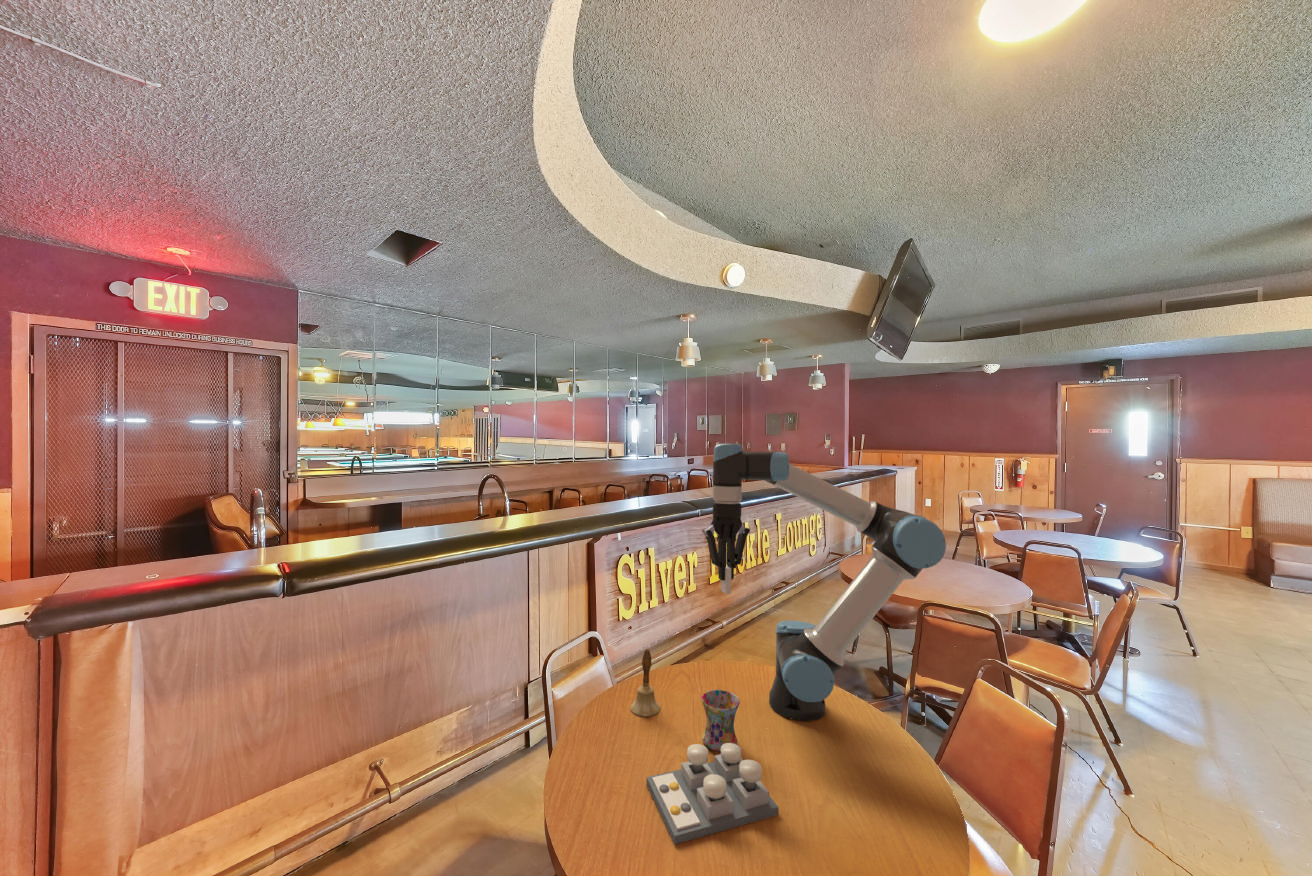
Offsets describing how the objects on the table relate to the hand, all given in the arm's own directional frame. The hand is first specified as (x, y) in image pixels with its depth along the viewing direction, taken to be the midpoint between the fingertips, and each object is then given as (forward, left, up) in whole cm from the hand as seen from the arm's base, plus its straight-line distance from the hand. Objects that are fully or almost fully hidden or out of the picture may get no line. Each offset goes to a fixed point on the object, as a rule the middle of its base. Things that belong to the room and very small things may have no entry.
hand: (725, 592), depth 122 cm
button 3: (+16, +18, -31) cm, 39 cm away
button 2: (+8, +26, -31) cm, 41 cm away
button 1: (+8, +18, -32) cm, 38 cm away
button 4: (+16, +26, -32) cm, 44 cm away
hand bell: (+17, -14, -35) cm, 41 cm away
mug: (+4, +5, -35) cm, 35 cm away
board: (+15, +22, -34) cm, 44 cm away
